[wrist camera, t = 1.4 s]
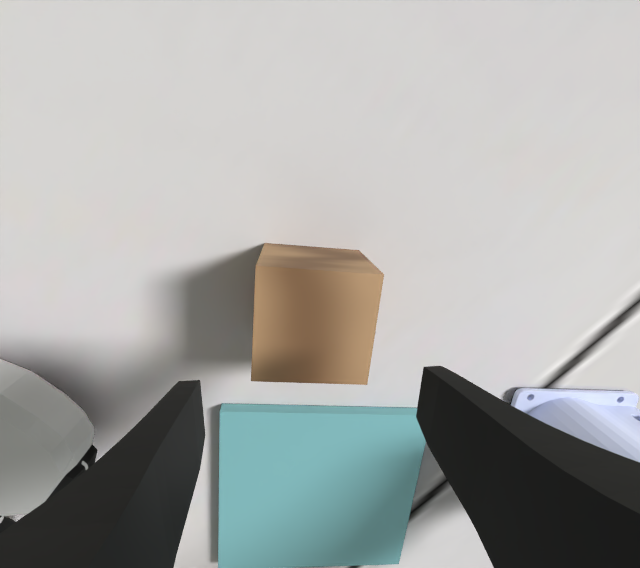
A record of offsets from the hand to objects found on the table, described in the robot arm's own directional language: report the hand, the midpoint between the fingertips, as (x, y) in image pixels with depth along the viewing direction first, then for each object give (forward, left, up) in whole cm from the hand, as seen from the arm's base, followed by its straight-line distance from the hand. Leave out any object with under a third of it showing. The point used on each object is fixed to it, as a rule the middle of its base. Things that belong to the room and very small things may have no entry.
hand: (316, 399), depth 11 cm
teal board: (-2, +15, -10) cm, 18 cm away
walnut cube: (0, 0, -10) cm, 10 cm away
